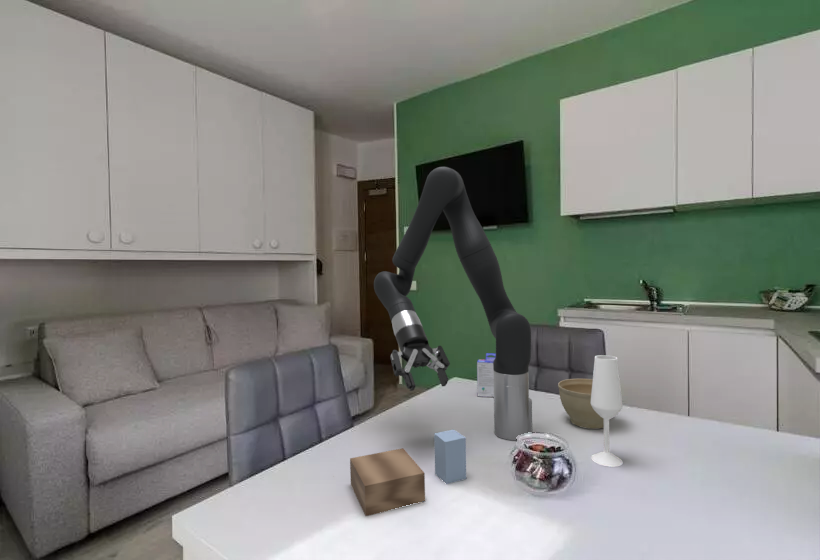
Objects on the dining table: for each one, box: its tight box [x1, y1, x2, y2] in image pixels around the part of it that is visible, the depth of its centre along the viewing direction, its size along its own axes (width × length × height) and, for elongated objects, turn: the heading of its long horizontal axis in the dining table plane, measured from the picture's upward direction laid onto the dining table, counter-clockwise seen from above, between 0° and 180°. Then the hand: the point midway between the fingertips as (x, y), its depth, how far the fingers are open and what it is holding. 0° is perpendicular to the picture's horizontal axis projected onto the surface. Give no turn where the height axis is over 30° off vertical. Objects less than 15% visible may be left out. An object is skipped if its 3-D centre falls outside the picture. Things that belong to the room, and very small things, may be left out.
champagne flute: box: [590, 354, 624, 468], centre depth 96 cm, size 7×7×24 cm
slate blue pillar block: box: [433, 428, 467, 485], centre depth 90 cm, size 5×5×9 cm
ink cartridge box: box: [476, 352, 496, 398], centre depth 145 cm, size 10×6×14 cm, turn 78°
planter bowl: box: [557, 378, 604, 430], centre depth 118 cm, size 16×16×11 cm
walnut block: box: [349, 448, 426, 517], centre depth 84 cm, size 12×12×6 cm
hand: (429, 386), depth 98 cm, fingers open, 8 cm apart
